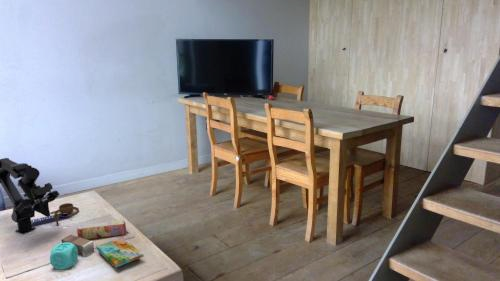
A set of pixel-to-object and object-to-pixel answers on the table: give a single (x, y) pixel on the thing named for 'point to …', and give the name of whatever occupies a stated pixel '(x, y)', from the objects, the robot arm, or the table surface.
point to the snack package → (101, 229)
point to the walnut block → (80, 245)
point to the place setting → (64, 211)
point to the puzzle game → (119, 252)
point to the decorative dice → (64, 256)
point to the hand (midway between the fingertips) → (49, 216)
